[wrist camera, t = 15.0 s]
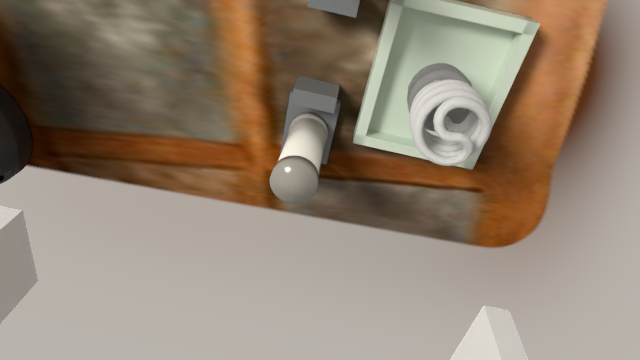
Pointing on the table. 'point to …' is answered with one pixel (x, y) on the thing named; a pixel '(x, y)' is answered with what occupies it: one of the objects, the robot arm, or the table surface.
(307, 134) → the fuse
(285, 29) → the table surface
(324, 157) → the clip block
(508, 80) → the tray
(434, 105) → the light bulb
